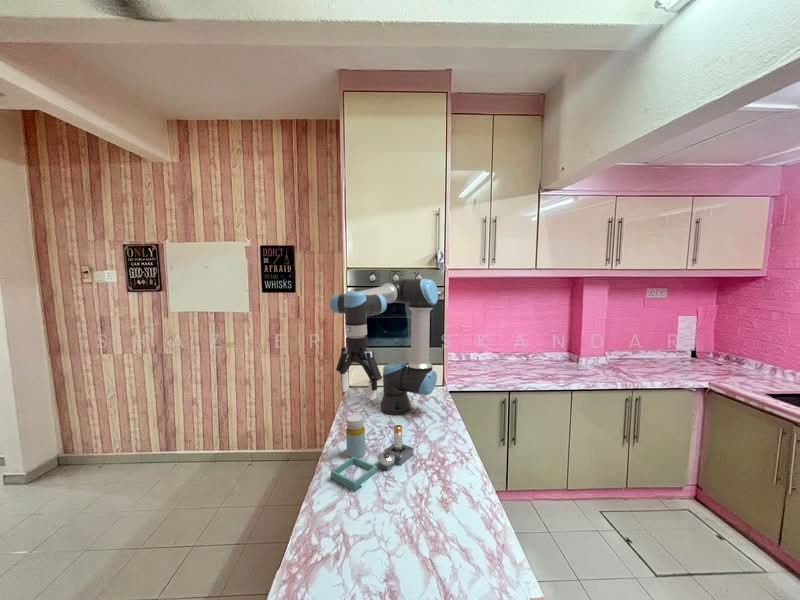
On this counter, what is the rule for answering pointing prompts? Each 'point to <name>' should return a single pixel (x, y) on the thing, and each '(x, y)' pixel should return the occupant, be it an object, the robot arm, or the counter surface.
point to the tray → (348, 482)
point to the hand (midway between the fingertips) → (358, 394)
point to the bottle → (355, 436)
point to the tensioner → (394, 457)
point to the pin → (398, 439)
